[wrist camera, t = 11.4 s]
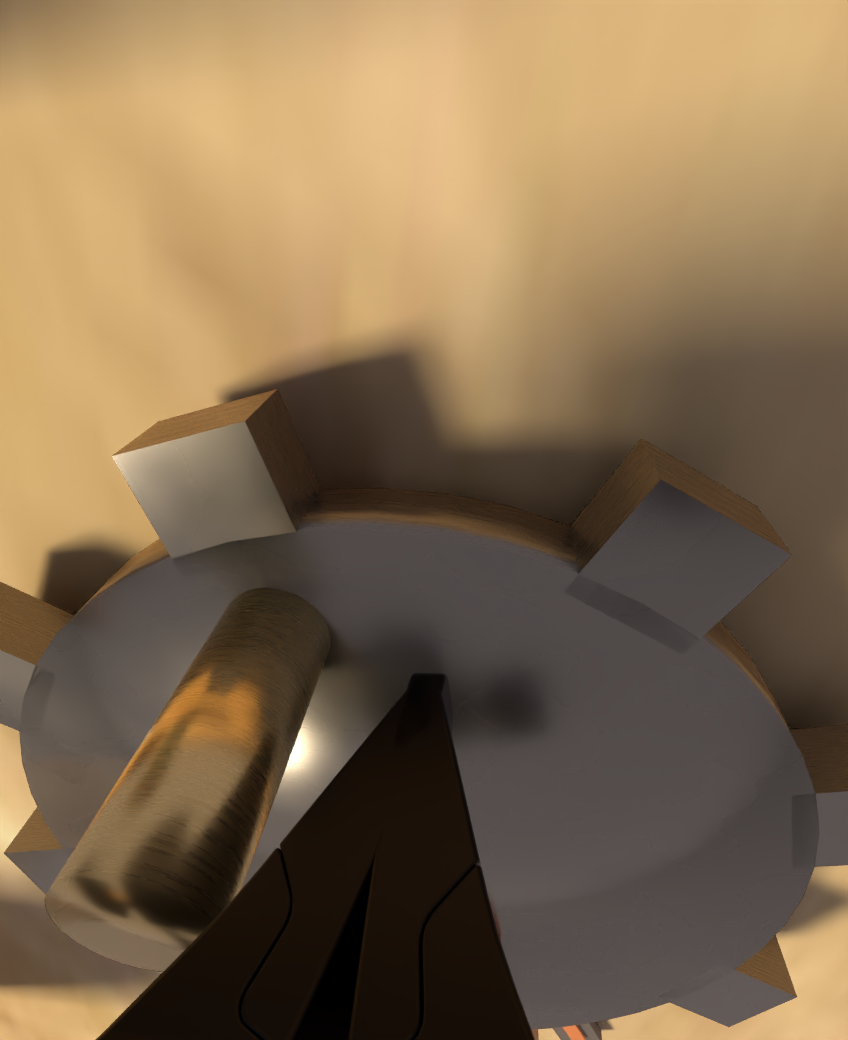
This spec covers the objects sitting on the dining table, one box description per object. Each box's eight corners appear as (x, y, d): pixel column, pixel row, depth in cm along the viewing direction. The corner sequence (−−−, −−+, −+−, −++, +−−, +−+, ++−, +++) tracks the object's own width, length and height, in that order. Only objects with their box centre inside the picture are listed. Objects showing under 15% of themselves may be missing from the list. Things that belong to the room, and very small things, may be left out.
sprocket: (864, 1003, 18) (1025, 1382, 12) (222, 1001, 23) (132, 1265, 18) (940, 207, 8) (1967, 310, 2) (-216, 524, 13) (-740, 785, 8)
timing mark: (600, 1030, 22) (602, 1047, 22) (563, 1031, 23) (565, 1048, 22) (570, 982, 21) (571, 1000, 20) (531, 985, 21) (532, 1002, 21)
